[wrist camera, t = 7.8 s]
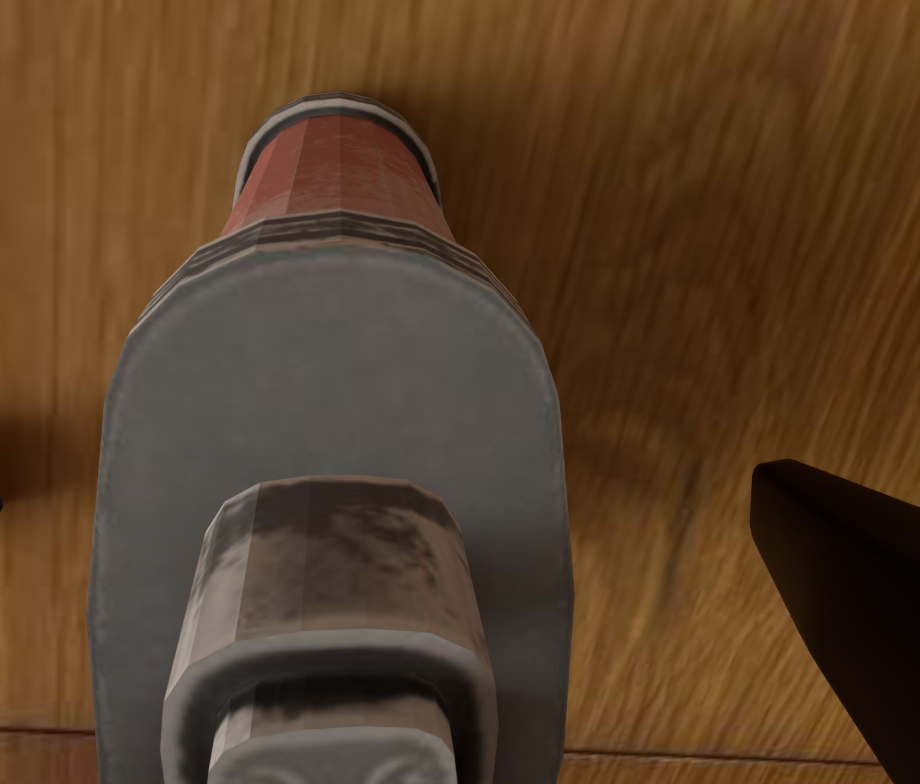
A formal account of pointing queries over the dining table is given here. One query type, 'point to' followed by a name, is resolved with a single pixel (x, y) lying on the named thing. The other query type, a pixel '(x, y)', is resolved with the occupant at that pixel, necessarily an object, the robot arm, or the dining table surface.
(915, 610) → the robot arm
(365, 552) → the lighter
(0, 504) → the spoon
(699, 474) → the dining table surface
